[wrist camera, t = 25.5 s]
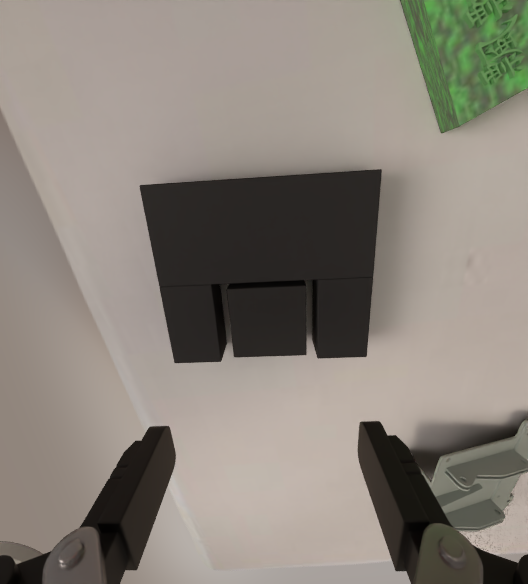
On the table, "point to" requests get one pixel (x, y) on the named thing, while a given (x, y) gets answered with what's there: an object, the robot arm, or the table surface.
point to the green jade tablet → (469, 53)
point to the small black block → (268, 318)
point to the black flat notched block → (265, 253)
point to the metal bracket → (480, 481)
